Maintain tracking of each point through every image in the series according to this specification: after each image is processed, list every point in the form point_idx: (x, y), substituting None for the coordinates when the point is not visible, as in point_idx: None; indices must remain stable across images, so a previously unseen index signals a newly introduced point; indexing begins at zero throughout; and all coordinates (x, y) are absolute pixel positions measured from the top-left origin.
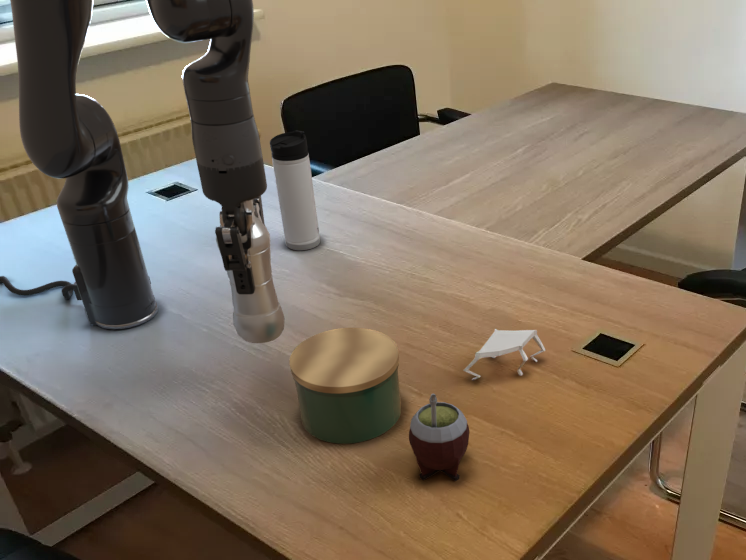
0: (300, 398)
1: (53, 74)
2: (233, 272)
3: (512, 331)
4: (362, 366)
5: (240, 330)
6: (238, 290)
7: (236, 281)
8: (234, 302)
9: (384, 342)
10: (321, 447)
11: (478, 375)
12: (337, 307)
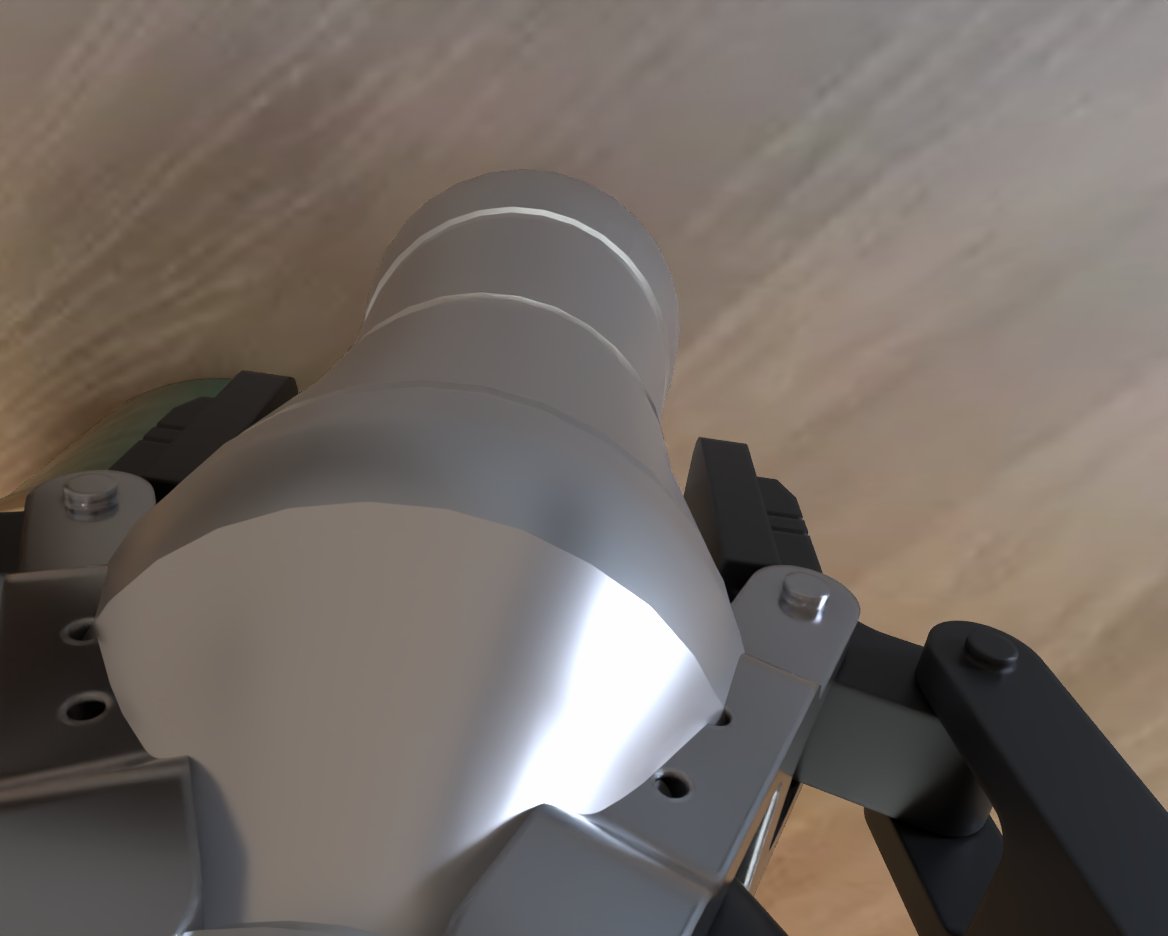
0: (60, 460)
1: None
2: (163, 457)
3: None
4: None
5: (402, 226)
6: (181, 407)
7: (134, 446)
8: (419, 262)
9: None
10: (37, 446)
11: None
12: (1086, 533)
